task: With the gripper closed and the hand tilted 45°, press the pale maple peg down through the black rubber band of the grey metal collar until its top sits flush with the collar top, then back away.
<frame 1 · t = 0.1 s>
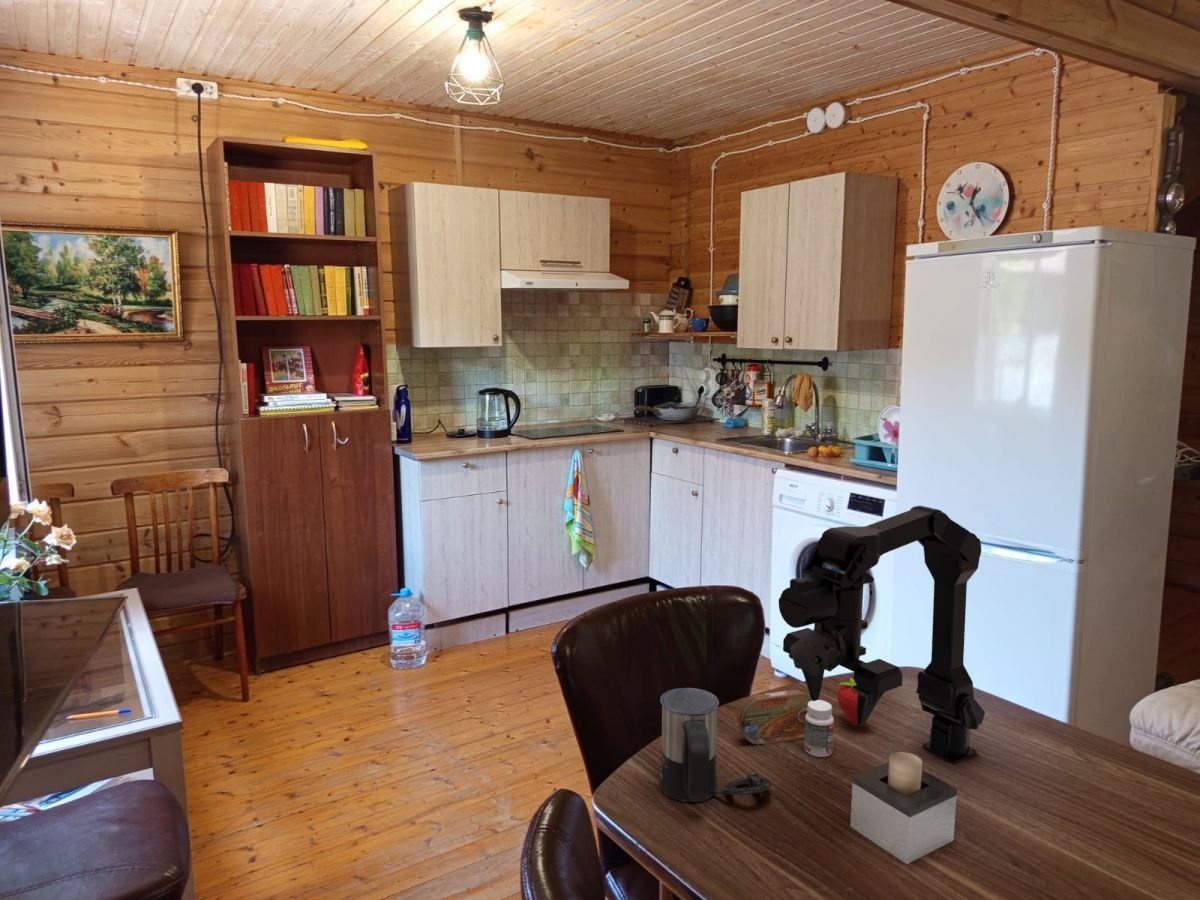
hand: (837, 712, 126), 15 cm above the table, tool pointing down, fingers open, 9 cm apart
peg: (904, 784, 120), point 8 cm above the table, slide at 3.5 cm
collar: (901, 833, 121), on the table
pill bottle: (818, 751, 144), on the table
milk frother: (713, 791, 132), on the table
strawberry: (853, 726, 152), on the table
tin: (776, 739, 148), on the table
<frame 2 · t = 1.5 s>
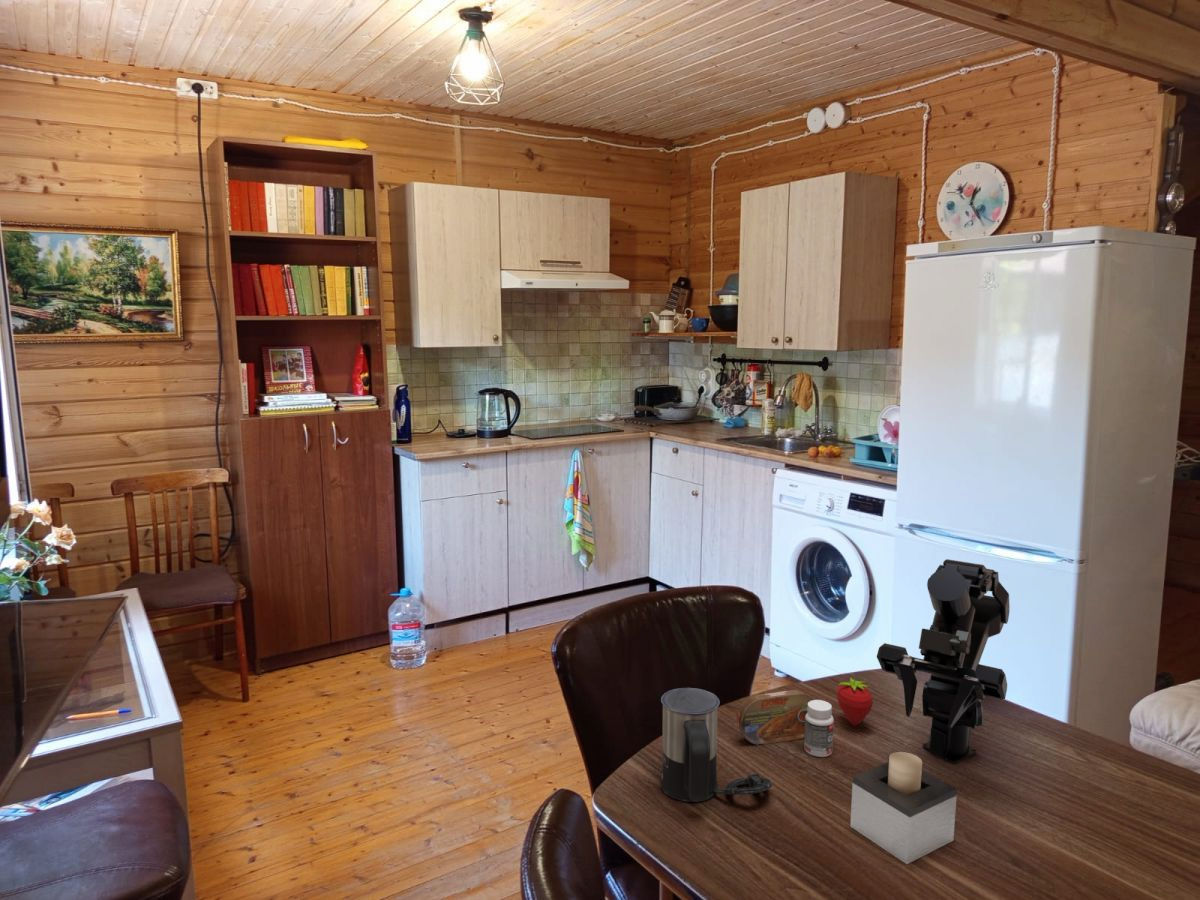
hand: (928, 721, 128), 13 cm above the table, tool tilted 45°, fingers open, 6 cm apart
nothing on the table moved.
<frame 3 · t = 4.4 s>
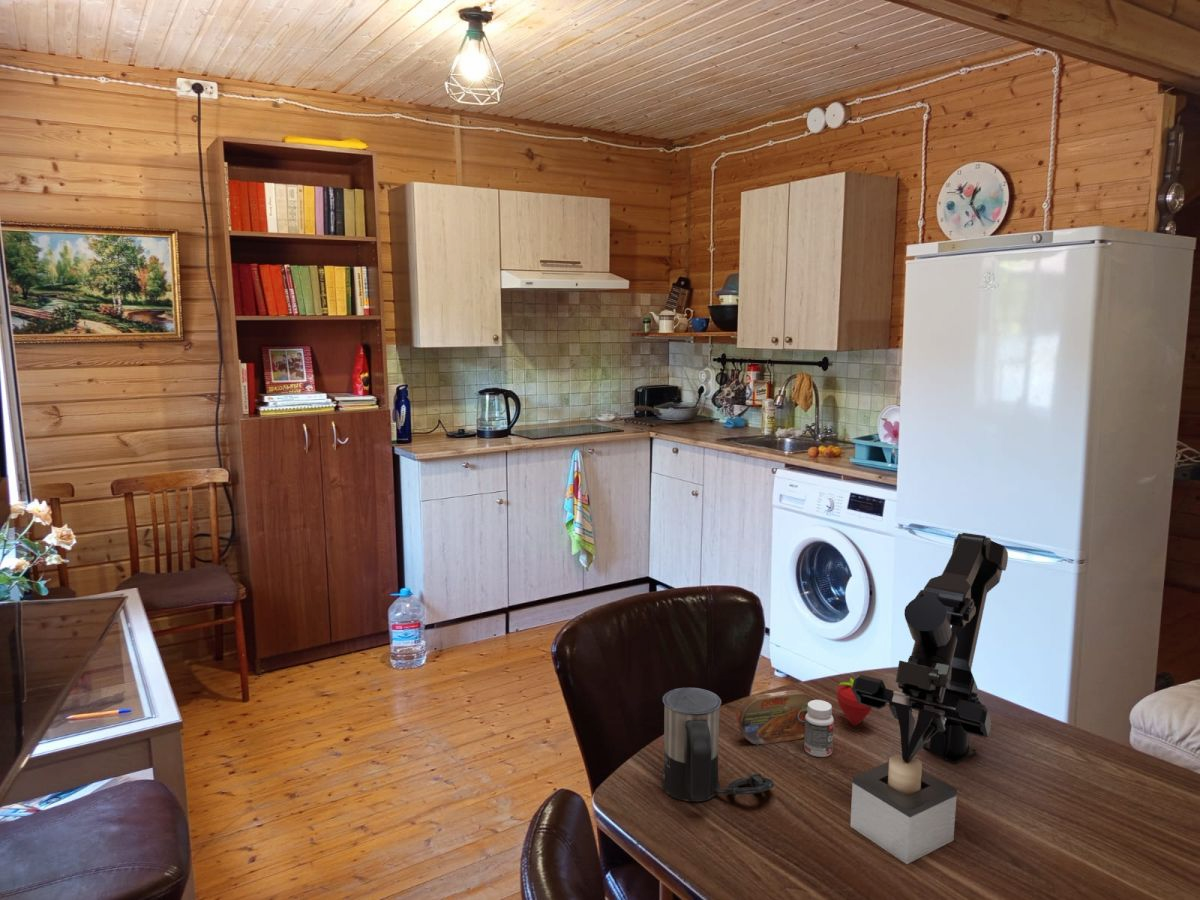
hand: (905, 760, 119), 11 cm above the table, tool tilted 45°, fingers closed, pressing on peg
peg: (903, 786, 120), point 7 cm above the table, slide at 3.1 cm, touching gripper
everything else where it was.
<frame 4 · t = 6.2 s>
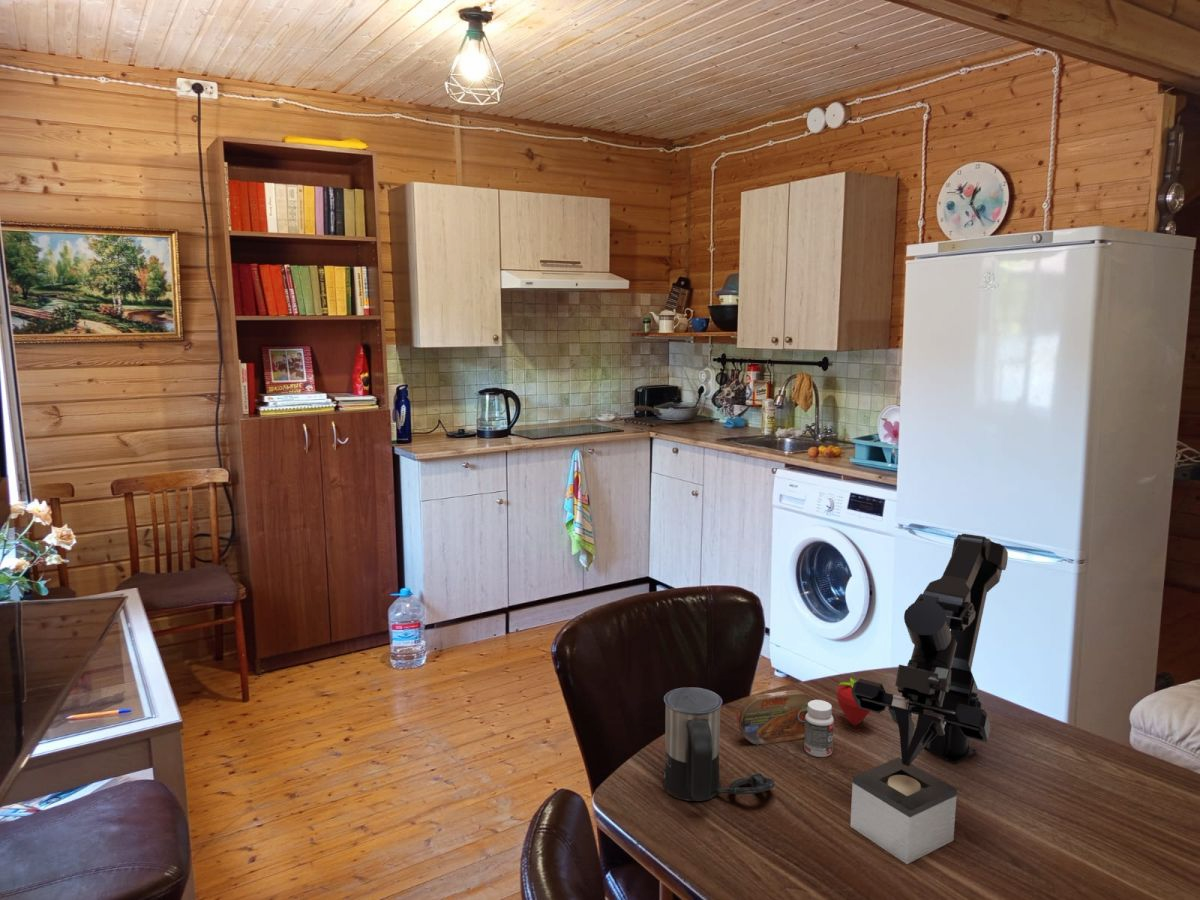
hand: (905, 764, 119), 11 cm above the table, tool tilted 45°, fingers closed
peg: (902, 807, 120), point 4 cm above the table, slide at -0.1 cm
everything else where it was.
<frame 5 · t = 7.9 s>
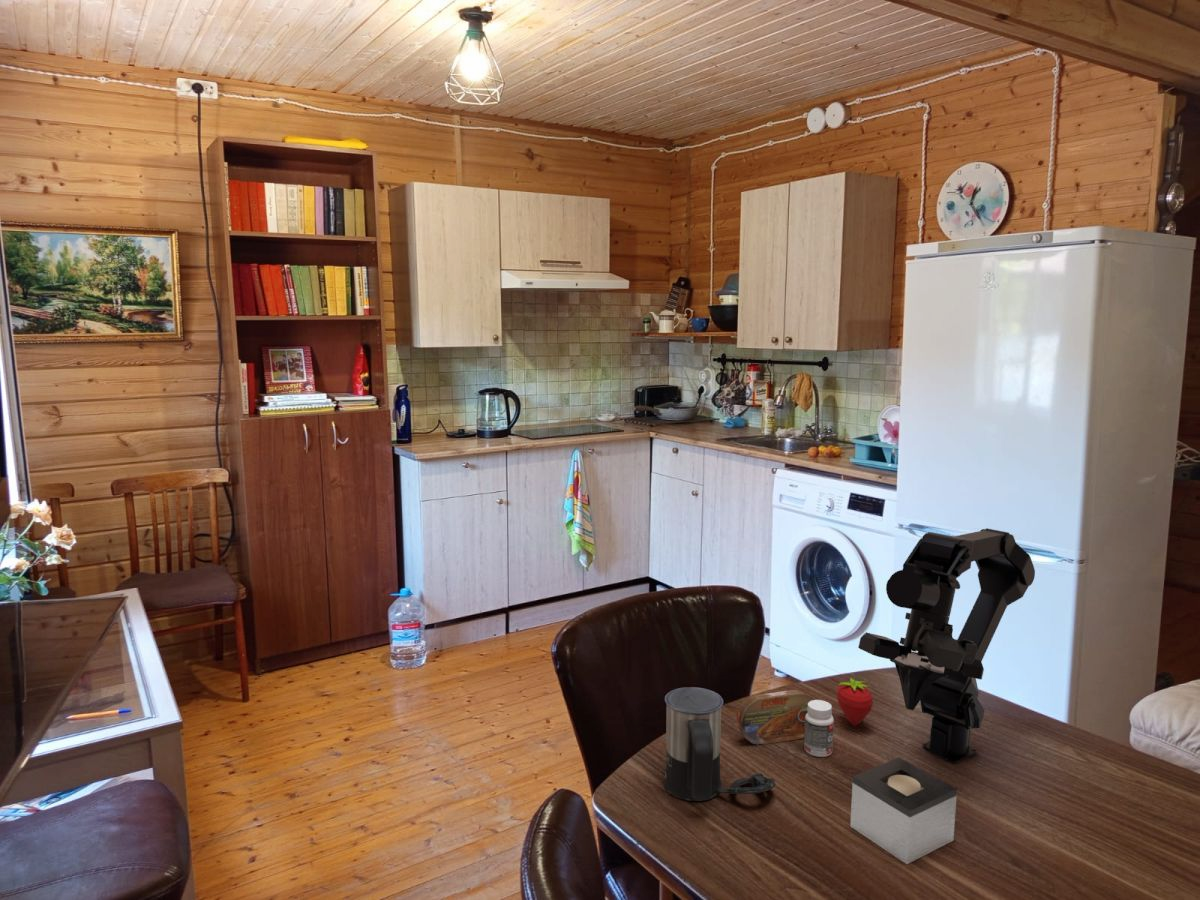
hand: (909, 709, 132), 13 cm above the table, tool tilted 20°, fingers closed
nothing on the table moved.
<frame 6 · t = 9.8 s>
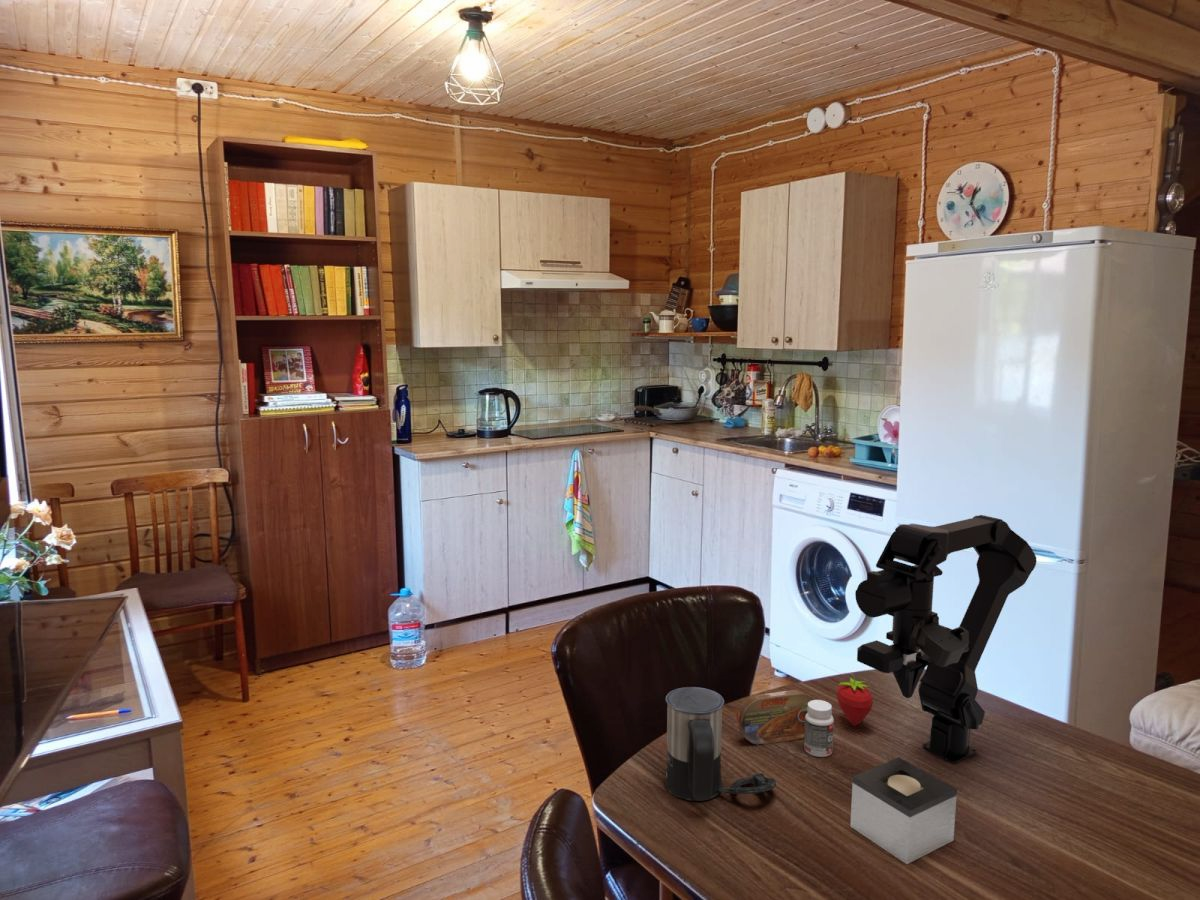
hand: (907, 696, 135), 13 cm above the table, tool pointing down, fingers closed
nothing on the table moved.
at the end: peg slide at -0.1 cm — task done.
